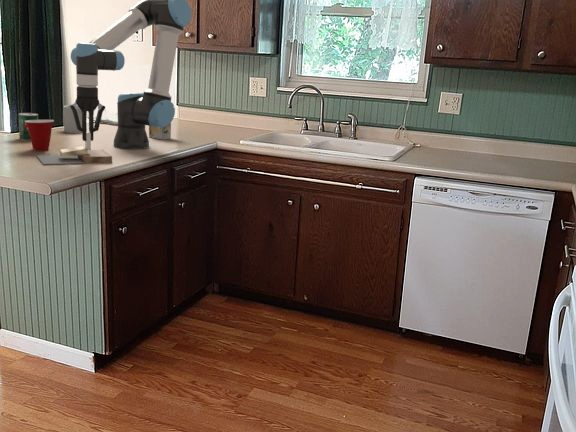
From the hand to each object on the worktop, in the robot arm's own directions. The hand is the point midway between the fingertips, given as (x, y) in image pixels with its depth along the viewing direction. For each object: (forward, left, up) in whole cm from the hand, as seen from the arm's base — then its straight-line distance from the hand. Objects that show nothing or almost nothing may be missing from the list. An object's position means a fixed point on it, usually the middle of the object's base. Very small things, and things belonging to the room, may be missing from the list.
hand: (88, 149), depth 229 cm
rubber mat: (+10, 0, -4) cm, 11 cm away
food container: (-31, -100, -4) cm, 105 cm away
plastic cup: (+14, -24, -4) cm, 28 cm away
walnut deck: (-2, 0, -4) cm, 5 cm away
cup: (-8, -71, -4) cm, 71 cm away
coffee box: (-44, -50, -4) cm, 67 cm away
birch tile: (+5, 0, -2) cm, 5 cm away
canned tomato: (+15, -49, -4) cm, 51 cm away
